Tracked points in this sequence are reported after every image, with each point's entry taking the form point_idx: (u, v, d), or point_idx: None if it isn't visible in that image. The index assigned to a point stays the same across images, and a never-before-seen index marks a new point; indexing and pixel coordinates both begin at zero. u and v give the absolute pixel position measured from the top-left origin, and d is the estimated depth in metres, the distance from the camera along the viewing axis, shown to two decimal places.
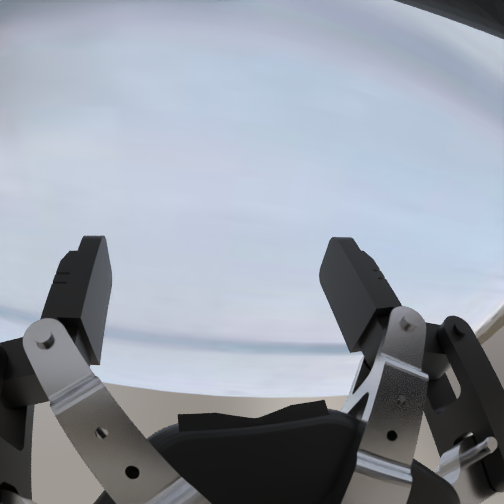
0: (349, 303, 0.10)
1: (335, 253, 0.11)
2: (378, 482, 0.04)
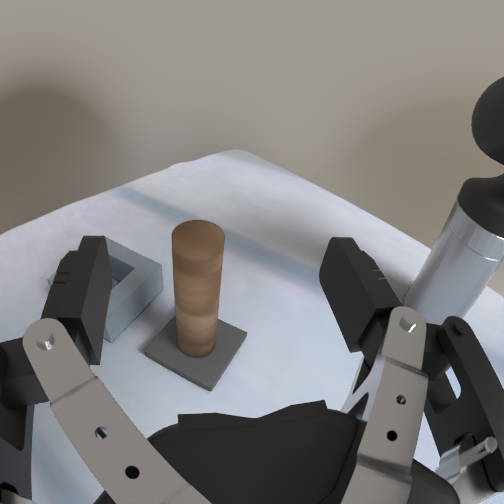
0: (349, 303, 0.10)
1: (335, 253, 0.11)
2: (378, 482, 0.04)
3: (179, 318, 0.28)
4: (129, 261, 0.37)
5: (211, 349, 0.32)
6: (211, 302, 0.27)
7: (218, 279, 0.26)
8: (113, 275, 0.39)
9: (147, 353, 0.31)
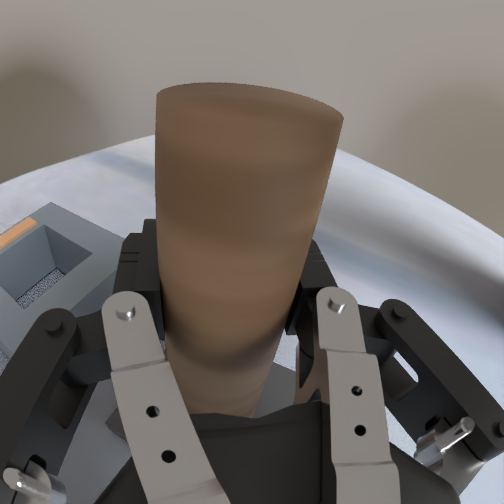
0: None
1: None
2: (364, 482, 0.04)
3: (177, 370, 0.10)
4: (83, 240, 0.18)
5: None
6: (273, 332, 0.09)
7: (304, 261, 0.08)
8: (63, 269, 0.21)
9: (112, 428, 0.13)
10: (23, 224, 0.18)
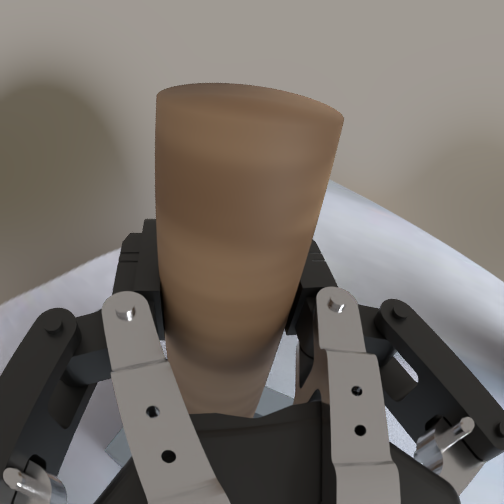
0: None
1: None
2: (364, 482, 0.04)
3: (177, 371, 0.10)
4: None
5: None
6: (274, 333, 0.09)
7: (304, 262, 0.08)
8: None
9: None
10: None
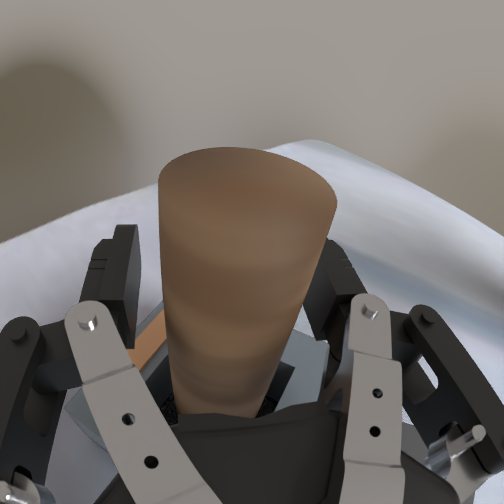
0: (315, 291, 0.10)
1: None
2: (371, 481, 0.04)
3: (182, 400, 0.11)
4: None
5: None
6: (268, 375, 0.10)
7: (295, 320, 0.09)
8: None
9: None
10: (162, 322, 0.16)
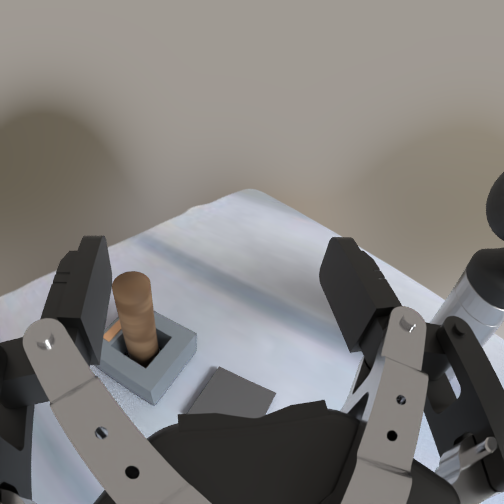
0: (349, 303, 0.10)
1: (335, 253, 0.11)
2: (378, 482, 0.04)
3: (126, 342, 0.35)
4: (165, 329, 0.39)
5: None
6: (146, 332, 0.34)
7: (149, 316, 0.33)
8: None
9: None
10: None
